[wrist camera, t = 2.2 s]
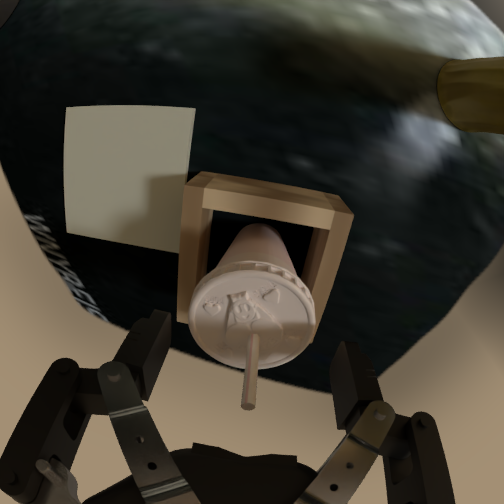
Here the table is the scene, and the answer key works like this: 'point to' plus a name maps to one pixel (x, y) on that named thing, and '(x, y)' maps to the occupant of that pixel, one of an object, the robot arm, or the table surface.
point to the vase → (473, 94)
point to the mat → (127, 173)
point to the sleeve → (266, 206)
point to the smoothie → (253, 307)
